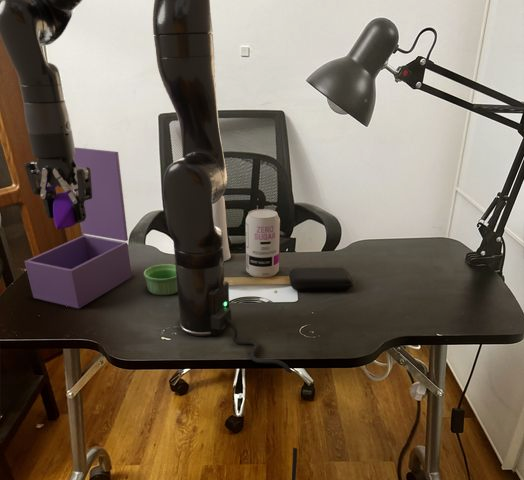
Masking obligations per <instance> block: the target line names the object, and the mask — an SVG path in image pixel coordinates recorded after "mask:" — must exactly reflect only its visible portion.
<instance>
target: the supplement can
mask: <svg viewBox="0 0 524 480" xmlns="http://www.w3.org/2000/svg"><path fill="white" fill-rule="evenodd" d="M280 229H281V219H280V217H279V214H278V212H277V211H276V210H273V209H267V208H258V209H253V210H250V211H248V214H247V216H246V217H245V271H246V272H247V273H248V274H249V275H250V277H251V276H252V277H255V278H260V279H265V278H271V277H273V276H276V274H277V273H278V272H279V270H280Z"/></svg>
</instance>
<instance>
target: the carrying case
mask: <svg viewBox="0 0 524 480" xmlns="http://www.w3.org/2000/svg"><path fill="white" fill-rule="evenodd" d="M288 279H289V284H290V286H291V287H292V288H293V289H292V290H295V291H296V292H340V291H341V292H344V291H345V292H346V291H349V290H350V289H351V288H352V287H353V286H354V281H353V279H352V277H351V274H350V272H349V271H348V270H347V269H346V268H345V267H341V266H340V267H333V266H331V267H330V266H325V267H322V266H321V267H320V266H316V267H314V266H313V267H294V268H292V269H290V271H289V272H288Z"/></svg>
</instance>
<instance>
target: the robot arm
mask: <svg viewBox="0 0 524 480" xmlns="http://www.w3.org/2000/svg"><path fill="white" fill-rule="evenodd" d="M83 1H84V0H0V39H1V41H2V45H3V46H4V49H5V51H6V53H7V55H8V58H9V60H10V63H11V64H12V67H13V68H14V70H15V73H16V75H17V77H18V83H19V89H20V93H21V94H20V95H21V98H22V99H21V100H22V103H23V113H24V120H25V125H26V130H27V133H28V139H29V144H30V148H31V153H32V156H33V157H34V158H36V160H33V161H28V162H25V163H24V168H25V172H26V174H27V175H26V176H27V178H28V181H29V184H30V187H31V191H32V194H33V195H35V196H36V195H38V196H39V197H40V199H42V201H43V207H44V210H45V214H46V215H47V217H48V218H49V219H54V217H53V202H54V199H55V196H54V195H55V192H56V188H57V187H59V188H62V190H63V193H64V192H65V193H67V194H68V195H69V197H70V199H71V201H72V202H73V204H72V208H73V212H74V218H75V222H77V224H81V222H83V221H85V218H86V212H85V206H84V202H85V201H86V200H89V199H91V198H92V185H91V170H90V168H88V167H86V168H81V167H77V165H76V163H75V161H74V155H75V146H76V145H75V141H74V135H73V129H72V124H71V123H72V122H71V118H70V113H69V110H68V106H67V102H66V97H65V96H66V95H65V91H64V86H63V80H62V75H61V72H60V69H59V68H58V67H57V66H56V65H55V64H54V63H51V62H48V61H47V59H46V57H45V55H44V52H43V50H42V47H43V46H49V45H51V44H53V43H55V42H56V41H58V39H59V38H60V37H61V36H62V35H63V34H64V32H65V31H66V29H67V27H68V25H69V23H70V21H71V20H72V18H73V15H74V13H75V11H76V9H77V8H78V7H79V6H80V5H81V4H82V2H83ZM211 13H212V12H211V1H210V0H153V7H152V33H153V34H152V35H153V42H154V50H155V51H154V52H155V57H156V65H157V69H158V74H159V77H160V79H161V82H162V85H163V87H164V89H165V92H166V94H167V96H168V98H169V100H170V102H171V105H172V107H173V109H174V111H175V114H176V116H177V120H178V123H179V124H178V125H179V129H180V136H181V137H180V138H181V150H182V151H181V152H182V158H180V159H177V160H175V161H173V162H172V163H171V164H170V165H168V167H167V168H166V170H165V171H164V174H163V179H162V195H163V196H162V197H163V204H164V211H165V219H166V225H167V229H168V233H169V234H170V237H171V238H172V242H173V252H174V265H176V277H177V288H178V292H177V298H178V309H179V324H180V325H179V326H180V327H179V328H180V329H181V331H182V332H184V333H185V334H187V335H189V336H195V337H209V336H210V337H211V336H212V337H217V336H219V334H221V332H222V331H225V329H226V328H227V327H228V326H229V328H230V329H231V330H232V341H233V342H234V343H235V344H236V345H239V346H251V345H252V346H254V347H253V349H252V350H251V351H250V353H249V358H250V360H251V361H252V362H254V363H256V364H261V365H262V364H263V365H277V366H280V367H282V368H283V370H285V372H287V373H288V374H292V372H293V371H292V369H291V368H290V366H289V365H288V364H287V363H285V362H283V361H282V360H279V359H274V358H258V357H256V356H255V355H256V354H257V352H258V350H259V349H260V345H259V343H258V342H257V341H256V340H253V339H251V340H250V339H249V340H240V339H238V329H237V327H236V325H235V324H234V323H233V322H232V309H231V308H230V287H229V285H230V284H229V281H228V280H225V263H224V262H225V261H224V260H223V259H224V258H223V234H222V231H221V229H220V228H218V227H216V226H214V220H213V209H212V204H214V203H215V202H217V201H218V200H219V199H220V198H221V197H222V196H223V195H225V192H226V189H227V184H228V175H227V168H226V167H227V166H226V161H225V156H224V150H223V144H222V138H221V131H220V124H219V112H218V93H217V82H216V62H215V61H216V59H215V47H214V34H213V32H214V31H213V23H212V14H211ZM75 175H76V176H75ZM75 193H76V194H77V197H76V195H75ZM223 197H224V196H223ZM291 463H292V464H291V466H292V467H291V480H297V467H298V465H297V464H298V448H296V447H292V462H291Z"/></svg>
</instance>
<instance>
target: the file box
mask: <svg viewBox="0 0 524 480" xmlns="http://www.w3.org/2000/svg"><path fill="white" fill-rule="evenodd" d="M24 265H25V270H26V273H27V277H28V280H29V284H30V285H29V286H30V290H31V294H32V297H33V299H37V300H41V301H45V302H50V303H53V304H58V305H62V306H67V307H71V308H74V309H78V310H79V309H81V308H82V307H85V306H86V305H88V304H89V303H91V302H93V301H94V300H96V299H97V298H99V297H101V296H102V295H105V294H106V293H108V292H109V291H111V290H113V289H114V288H116V287H118V286H119V285H121V284H123V283H124V282H126V281H128V280H129V279H131V278H133V277H132V275H133V274H132V267H131V260H130V252H129V246H128V242H127V241H121V240H116V239H110V238H104V237H99V236H93V235H87V234H82V235H81V236H78V237H76V238H74V239H71V240H69V241H67V242H65V243H62V244H60V245H58V246H56V247H53V248H51V249H49V250H47V251H44V252H42V253H39V254H37V255H35V256H33V257H30V258H29V259H26V260H24Z"/></svg>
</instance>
